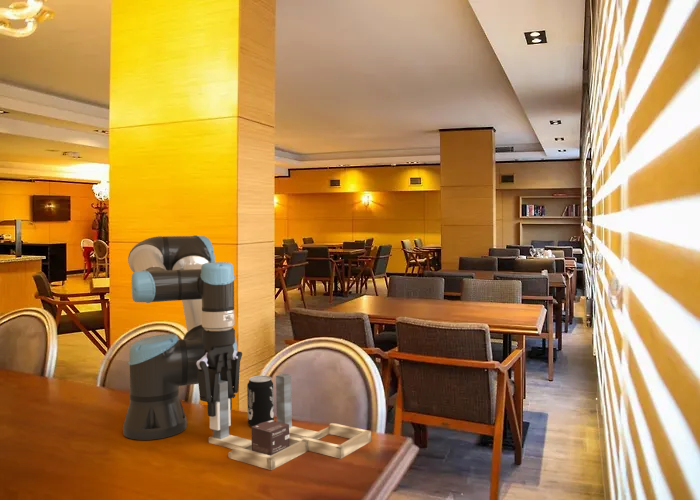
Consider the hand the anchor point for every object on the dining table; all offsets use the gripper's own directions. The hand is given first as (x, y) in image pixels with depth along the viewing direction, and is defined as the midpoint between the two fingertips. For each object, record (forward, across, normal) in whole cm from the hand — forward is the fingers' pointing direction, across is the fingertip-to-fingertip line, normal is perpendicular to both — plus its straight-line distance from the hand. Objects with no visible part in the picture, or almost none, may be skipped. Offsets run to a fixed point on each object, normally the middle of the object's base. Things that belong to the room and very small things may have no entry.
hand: (220, 426), depth 136 cm
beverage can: (+4, +14, 0) cm, 14 cm away
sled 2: (+3, +13, -19) cm, 23 cm away
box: (+4, -2, -17) cm, 17 cm away
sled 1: (+3, 0, -10) cm, 10 cm away
